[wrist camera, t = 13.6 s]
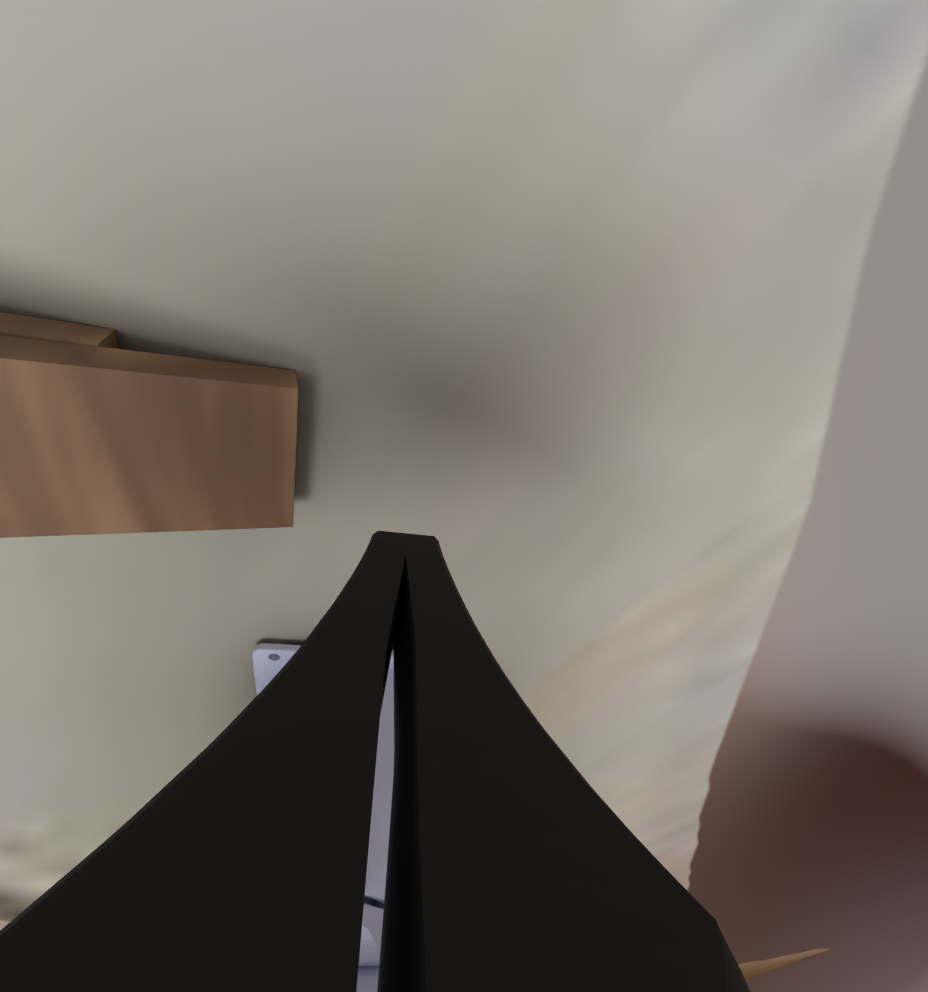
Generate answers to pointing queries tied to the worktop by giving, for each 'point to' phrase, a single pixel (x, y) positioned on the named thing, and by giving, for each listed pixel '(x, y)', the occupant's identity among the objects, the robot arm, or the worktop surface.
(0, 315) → the domino
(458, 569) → the worktop surface
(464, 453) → the worktop surface
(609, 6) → the worktop surface
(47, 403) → the brown wooden block
